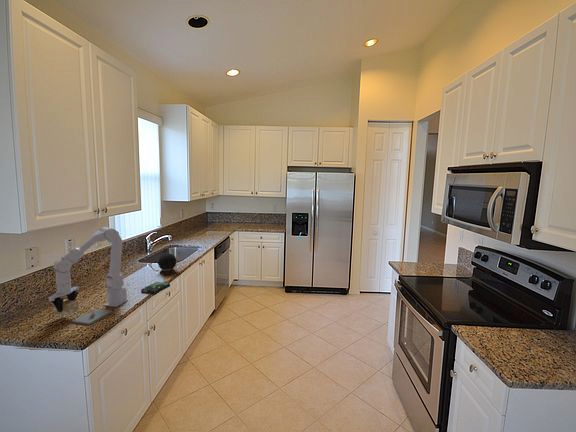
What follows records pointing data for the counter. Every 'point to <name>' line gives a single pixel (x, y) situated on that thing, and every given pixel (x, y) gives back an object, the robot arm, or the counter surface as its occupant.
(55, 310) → the hollow block
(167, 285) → the disk drive
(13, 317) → the counter surface
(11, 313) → the counter surface
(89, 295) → the counter surface
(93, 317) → the pin board
